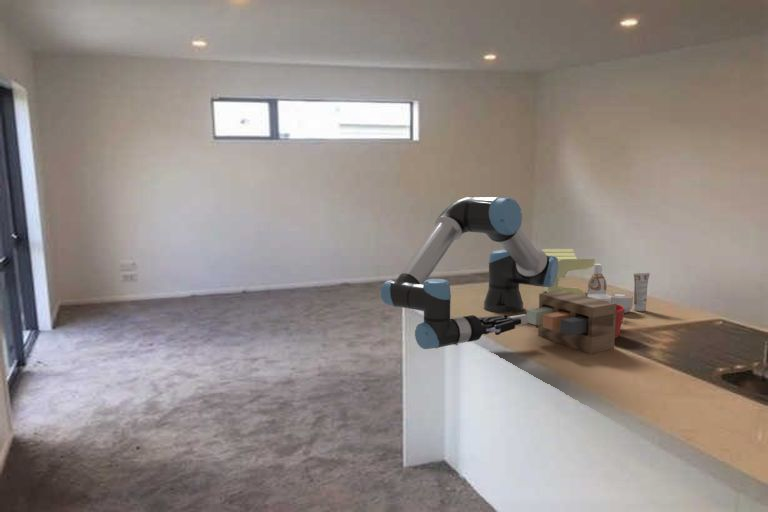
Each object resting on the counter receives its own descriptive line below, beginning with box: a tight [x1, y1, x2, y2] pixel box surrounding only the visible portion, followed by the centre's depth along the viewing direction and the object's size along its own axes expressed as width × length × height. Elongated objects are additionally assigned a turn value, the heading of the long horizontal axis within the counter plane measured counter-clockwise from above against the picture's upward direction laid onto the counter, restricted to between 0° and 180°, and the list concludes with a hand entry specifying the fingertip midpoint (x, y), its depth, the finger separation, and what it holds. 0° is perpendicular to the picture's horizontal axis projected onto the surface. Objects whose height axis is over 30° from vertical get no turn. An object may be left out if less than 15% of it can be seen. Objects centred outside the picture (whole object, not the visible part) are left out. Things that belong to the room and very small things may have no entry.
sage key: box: [526, 306, 554, 326], centre depth 188 cm, size 4×10×4 cm, turn 119°
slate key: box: [560, 315, 589, 336], centre depth 176 cm, size 4×10×4 cm, turn 119°
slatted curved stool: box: [541, 248, 596, 296], centre depth 253 cm, size 30×16×18 cm, turn 179°
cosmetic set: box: [587, 263, 651, 314], centre depth 222 cm, size 25×9×19 cm, turn 102°
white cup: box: [586, 294, 611, 302], centre depth 206 cm, size 8×8×10 cm
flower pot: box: [615, 304, 625, 339], centre depth 192 cm, size 11×11×10 cm
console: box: [537, 291, 616, 355], centre depth 185 cm, size 22×10×14 cm, turn 29°
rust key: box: [543, 310, 571, 330], centre depth 182 cm, size 4×10×4 cm, turn 119°
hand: (525, 318), depth 184 cm, fingers closed
